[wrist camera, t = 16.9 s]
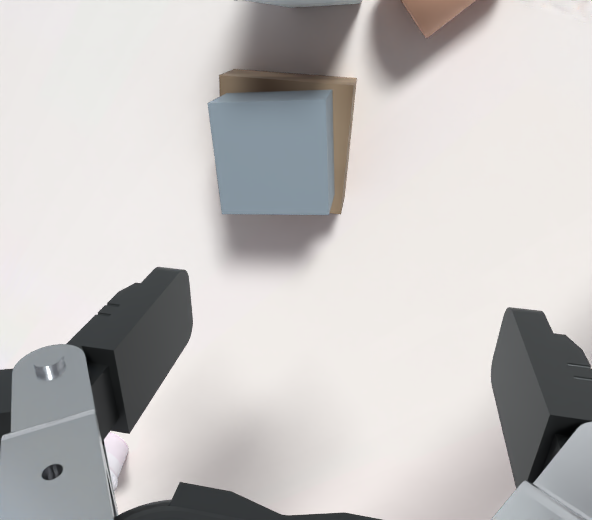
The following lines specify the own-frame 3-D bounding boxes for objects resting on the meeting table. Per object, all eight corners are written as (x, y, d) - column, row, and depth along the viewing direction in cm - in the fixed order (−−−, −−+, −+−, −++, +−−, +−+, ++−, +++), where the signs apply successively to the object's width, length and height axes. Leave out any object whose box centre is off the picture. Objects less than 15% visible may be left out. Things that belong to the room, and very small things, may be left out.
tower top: (332, 89, 36) (325, 99, 32) (334, 194, 39) (328, 214, 35) (226, 93, 37) (207, 103, 33) (238, 194, 41) (222, 214, 37)
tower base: (356, 77, 39) (353, 85, 35) (344, 195, 44) (340, 214, 40) (235, 68, 41) (219, 75, 37) (236, 184, 45) (221, 201, 41)
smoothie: (129, 399, 65) (71, 492, 53) (156, 433, 68) (107, 529, 55) (94, 411, 67) (30, 503, 55) (121, 443, 70) (66, 537, 58)
